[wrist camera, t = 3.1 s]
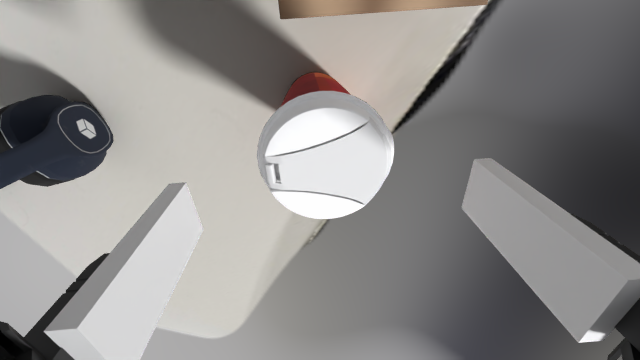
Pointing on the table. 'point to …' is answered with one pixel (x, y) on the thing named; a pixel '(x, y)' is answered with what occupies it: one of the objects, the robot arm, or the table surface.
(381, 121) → the paper cup
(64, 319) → the robot arm
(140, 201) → the table surface
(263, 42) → the table surface
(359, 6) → the stool
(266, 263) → the table surface
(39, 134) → the headphones
